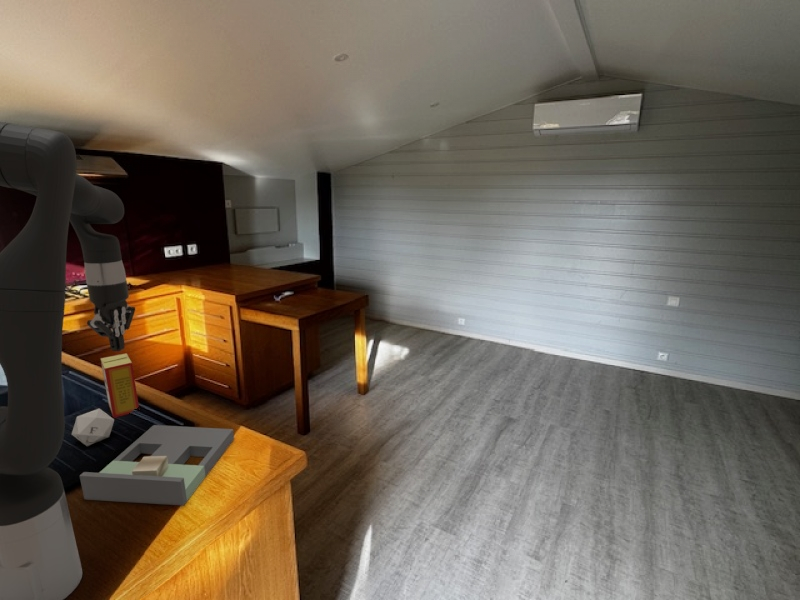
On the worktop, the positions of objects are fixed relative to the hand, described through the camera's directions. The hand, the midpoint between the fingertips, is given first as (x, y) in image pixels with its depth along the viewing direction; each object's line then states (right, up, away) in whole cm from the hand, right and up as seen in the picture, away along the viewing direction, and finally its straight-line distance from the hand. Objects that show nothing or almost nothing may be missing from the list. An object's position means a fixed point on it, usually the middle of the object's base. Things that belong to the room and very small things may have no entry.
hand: (118, 349), depth 98 cm
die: (-13, -25, +10) cm, 30 cm away
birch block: (+13, -27, -7) cm, 31 cm away
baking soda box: (-16, -21, +25) cm, 36 cm away
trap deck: (+12, -28, 0) cm, 31 cm away
